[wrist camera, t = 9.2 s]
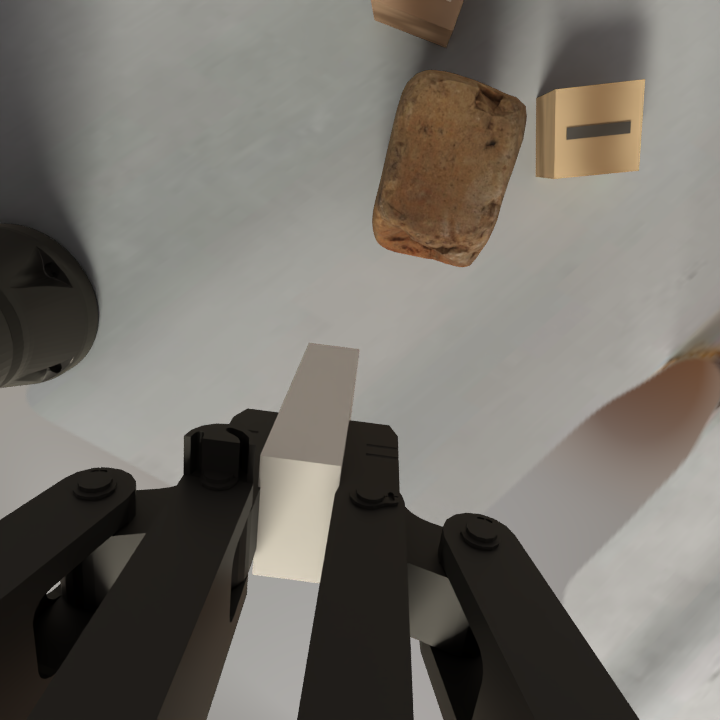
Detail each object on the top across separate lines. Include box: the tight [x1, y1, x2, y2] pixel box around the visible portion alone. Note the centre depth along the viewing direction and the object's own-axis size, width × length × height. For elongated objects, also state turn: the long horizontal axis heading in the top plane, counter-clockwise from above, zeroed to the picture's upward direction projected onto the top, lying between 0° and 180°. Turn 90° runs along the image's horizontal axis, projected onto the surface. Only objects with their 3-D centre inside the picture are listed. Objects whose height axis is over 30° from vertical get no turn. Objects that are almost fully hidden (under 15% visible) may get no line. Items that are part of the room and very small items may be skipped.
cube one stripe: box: [536, 79, 645, 179], centre depth 42 cm, size 6×6×6 cm
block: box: [372, 70, 527, 267], centre depth 37 cm, size 11×8×20 cm
